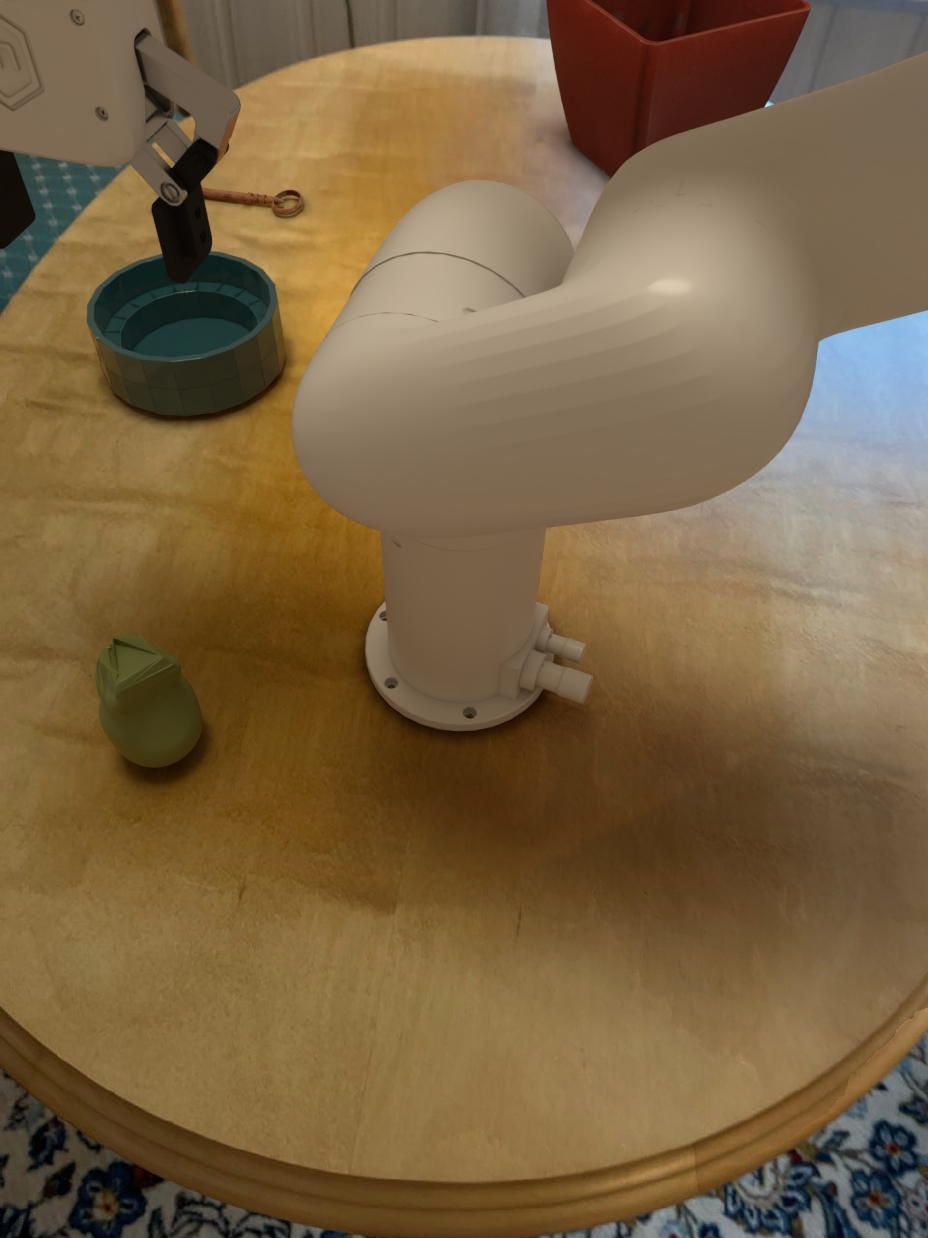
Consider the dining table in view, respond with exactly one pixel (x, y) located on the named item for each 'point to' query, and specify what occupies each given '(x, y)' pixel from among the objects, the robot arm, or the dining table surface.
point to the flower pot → (664, 66)
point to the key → (257, 198)
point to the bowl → (188, 334)
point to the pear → (146, 702)
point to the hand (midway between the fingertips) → (101, 250)
